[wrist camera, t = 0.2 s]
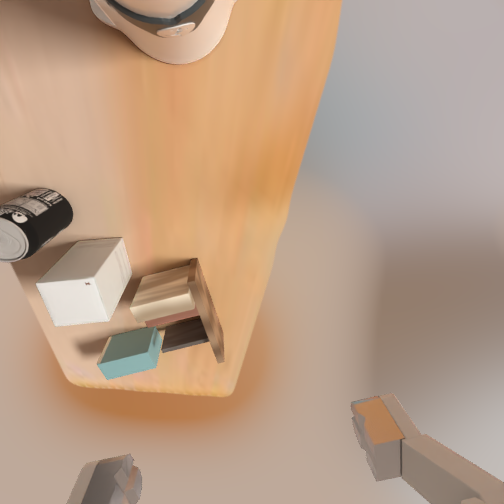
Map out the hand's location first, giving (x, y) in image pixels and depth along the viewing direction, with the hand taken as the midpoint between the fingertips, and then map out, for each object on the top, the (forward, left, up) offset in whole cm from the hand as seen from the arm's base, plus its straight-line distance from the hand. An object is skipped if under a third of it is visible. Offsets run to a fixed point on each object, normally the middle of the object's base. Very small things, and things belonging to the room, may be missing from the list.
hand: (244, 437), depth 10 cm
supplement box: (+7, -22, -39) cm, 46 cm away
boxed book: (+25, -24, -39) cm, 52 cm away
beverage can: (-2, -26, -39) cm, 47 cm away
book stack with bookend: (+21, -12, -39) cm, 46 cm away
